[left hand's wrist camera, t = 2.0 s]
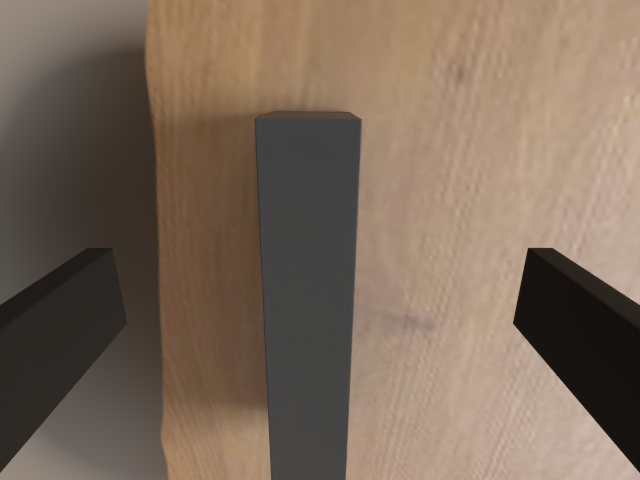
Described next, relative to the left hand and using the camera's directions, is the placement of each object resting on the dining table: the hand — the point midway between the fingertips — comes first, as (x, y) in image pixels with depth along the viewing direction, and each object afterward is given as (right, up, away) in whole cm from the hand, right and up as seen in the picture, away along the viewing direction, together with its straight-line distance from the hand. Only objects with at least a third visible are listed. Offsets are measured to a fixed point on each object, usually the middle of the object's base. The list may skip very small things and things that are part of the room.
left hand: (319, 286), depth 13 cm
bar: (-1, -2, +19) cm, 19 cm away
